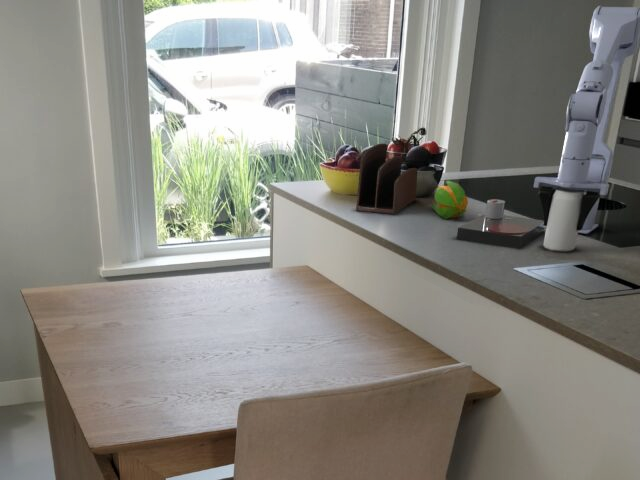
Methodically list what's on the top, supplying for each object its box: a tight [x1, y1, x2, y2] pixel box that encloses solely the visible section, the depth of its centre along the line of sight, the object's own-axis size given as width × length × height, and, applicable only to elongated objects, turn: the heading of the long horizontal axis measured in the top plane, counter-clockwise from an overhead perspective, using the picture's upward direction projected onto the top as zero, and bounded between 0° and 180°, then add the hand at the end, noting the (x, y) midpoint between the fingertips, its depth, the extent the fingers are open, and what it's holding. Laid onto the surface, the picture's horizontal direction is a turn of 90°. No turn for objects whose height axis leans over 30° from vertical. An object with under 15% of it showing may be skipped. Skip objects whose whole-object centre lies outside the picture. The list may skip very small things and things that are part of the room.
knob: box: [484, 198, 506, 219], centre depth 189 cm, size 4×4×4 cm
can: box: [543, 187, 584, 253], centre depth 173 cm, size 6×6×12 cm
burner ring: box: [487, 223, 529, 234], centre depth 181 cm, size 9×9×1 cm
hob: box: [456, 213, 546, 249], centre depth 186 cm, size 19×15×3 cm
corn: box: [430, 180, 469, 220], centre depth 203 cm, size 7×8×20 cm
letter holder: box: [355, 143, 418, 215], centre depth 208 cm, size 10×20×14 cm, turn 155°
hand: (562, 227), depth 174 cm, fingers closed on can, 6 cm apart
